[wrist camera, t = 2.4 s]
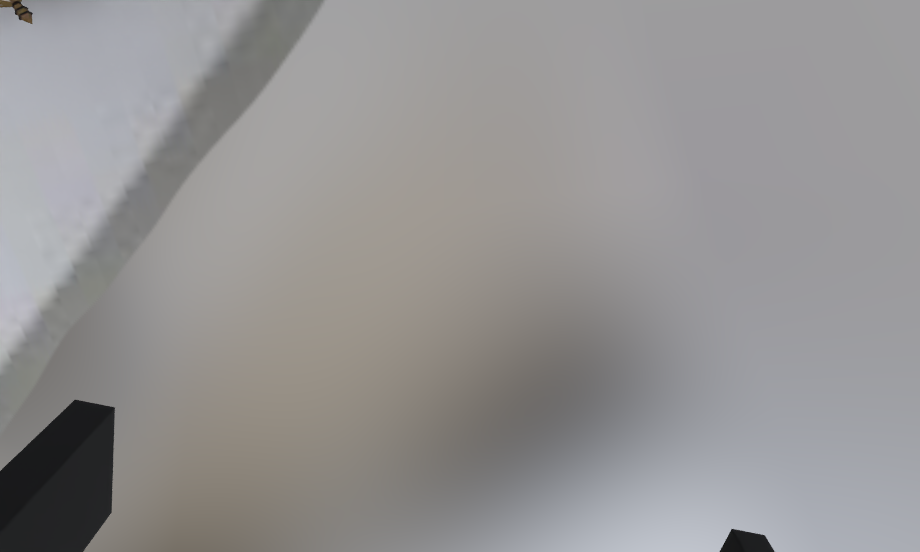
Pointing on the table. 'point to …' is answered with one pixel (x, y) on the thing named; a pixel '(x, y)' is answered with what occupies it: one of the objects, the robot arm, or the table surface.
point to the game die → (18, 9)
